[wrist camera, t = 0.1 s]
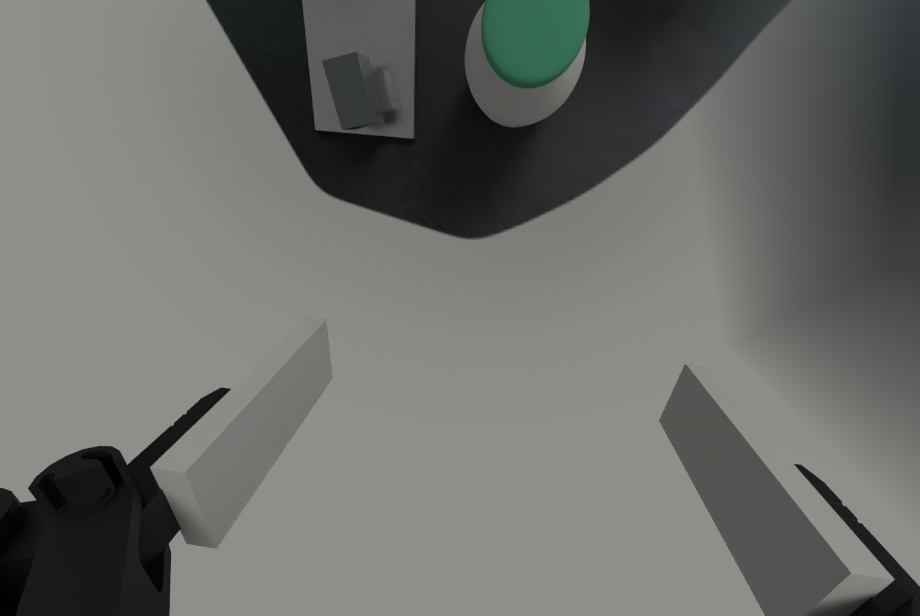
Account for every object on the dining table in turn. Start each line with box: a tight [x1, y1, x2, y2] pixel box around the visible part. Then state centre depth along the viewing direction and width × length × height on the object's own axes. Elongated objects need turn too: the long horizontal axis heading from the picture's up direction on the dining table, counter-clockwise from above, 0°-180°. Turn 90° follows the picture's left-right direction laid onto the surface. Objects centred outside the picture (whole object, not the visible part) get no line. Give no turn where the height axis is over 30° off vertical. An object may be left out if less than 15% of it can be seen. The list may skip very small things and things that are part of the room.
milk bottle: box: [465, 0, 590, 127], centre depth 24 cm, size 8×8×20 cm
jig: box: [302, 0, 418, 139], centre depth 29 cm, size 19×10×6 cm, turn 176°
